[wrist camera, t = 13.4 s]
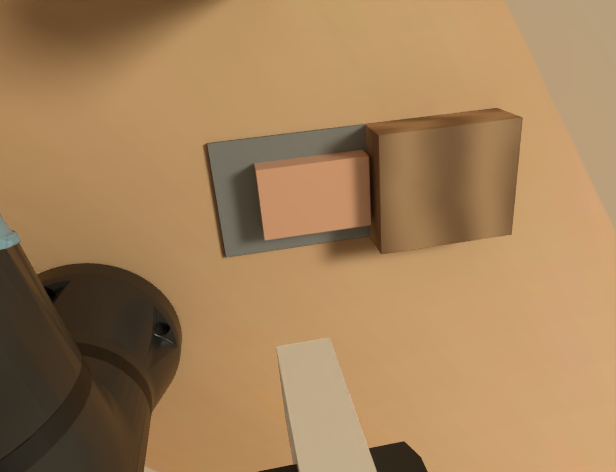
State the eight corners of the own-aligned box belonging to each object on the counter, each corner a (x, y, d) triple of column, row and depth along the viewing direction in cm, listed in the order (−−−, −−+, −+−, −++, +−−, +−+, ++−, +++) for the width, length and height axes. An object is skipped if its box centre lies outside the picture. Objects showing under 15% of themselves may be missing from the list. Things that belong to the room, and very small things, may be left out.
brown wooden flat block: (368, 234, 47) (381, 254, 43) (364, 124, 42) (378, 135, 39) (489, 217, 48) (511, 234, 44) (497, 108, 44) (522, 117, 40)
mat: (225, 255, 45) (225, 257, 45) (207, 143, 41) (207, 144, 41) (370, 234, 47) (371, 235, 46) (367, 123, 42) (368, 124, 42)
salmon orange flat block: (262, 230, 44) (264, 240, 43) (253, 163, 42) (255, 170, 40) (364, 216, 45) (371, 225, 44) (362, 149, 43) (368, 156, 41)
